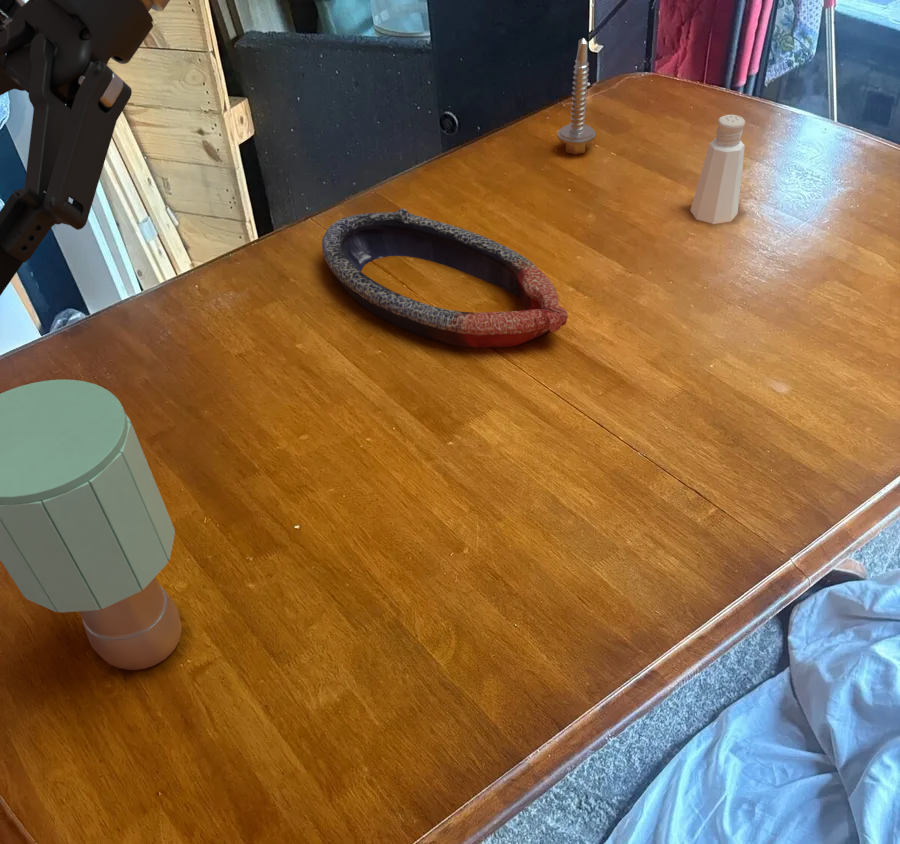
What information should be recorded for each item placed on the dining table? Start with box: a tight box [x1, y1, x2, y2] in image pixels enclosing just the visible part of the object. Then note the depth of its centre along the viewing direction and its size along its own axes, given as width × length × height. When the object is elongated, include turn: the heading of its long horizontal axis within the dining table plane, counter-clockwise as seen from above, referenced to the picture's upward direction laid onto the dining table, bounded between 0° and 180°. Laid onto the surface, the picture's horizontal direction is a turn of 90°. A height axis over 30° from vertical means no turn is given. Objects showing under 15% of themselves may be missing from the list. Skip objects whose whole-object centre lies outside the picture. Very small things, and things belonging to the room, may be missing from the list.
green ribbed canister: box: [0, 379, 176, 613], centre depth 55 cm, size 10×10×10 cm
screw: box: [557, 37, 597, 156], centre depth 110 cm, size 13×5×5 cm
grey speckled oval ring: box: [321, 208, 569, 349], centre depth 92 cm, size 16×31×5 cm, turn 47°
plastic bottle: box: [79, 577, 182, 671], centre depth 59 cm, size 6×7×20 cm
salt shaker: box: [690, 114, 746, 225], centre depth 99 cm, size 5×5×11 cm
